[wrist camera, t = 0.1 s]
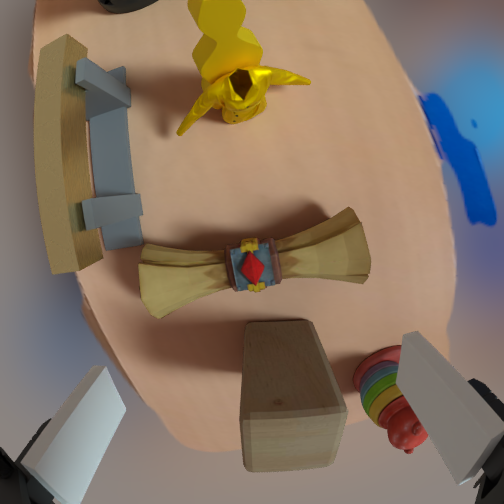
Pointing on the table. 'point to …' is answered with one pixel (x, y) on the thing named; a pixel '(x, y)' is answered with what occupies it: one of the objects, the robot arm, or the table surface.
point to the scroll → (254, 264)
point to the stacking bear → (388, 399)
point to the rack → (110, 157)
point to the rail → (63, 158)
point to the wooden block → (288, 399)
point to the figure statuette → (230, 64)
